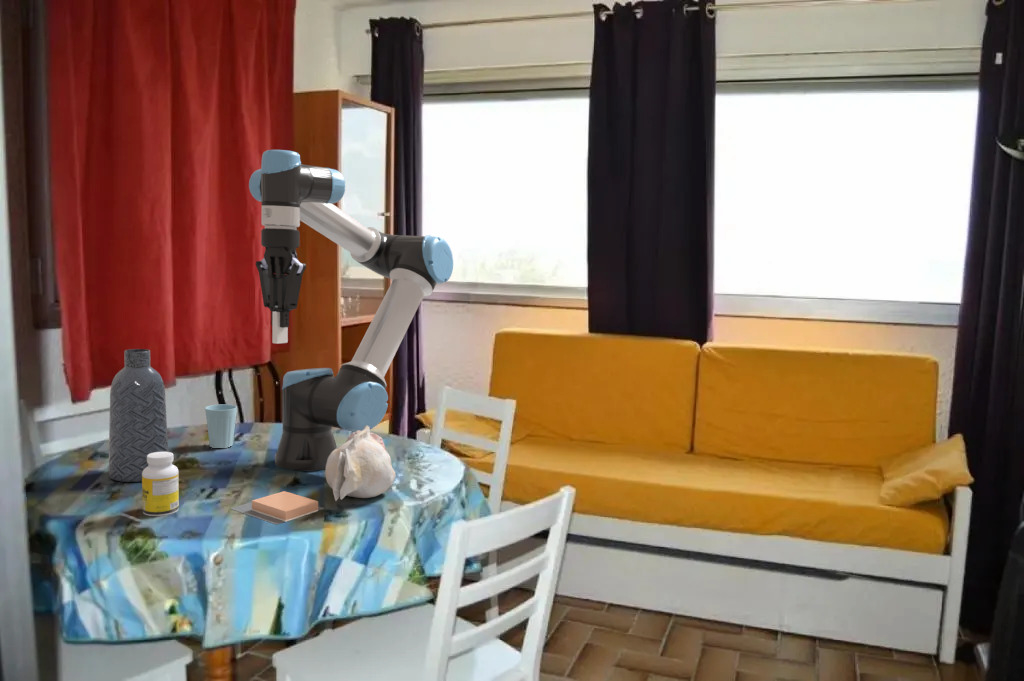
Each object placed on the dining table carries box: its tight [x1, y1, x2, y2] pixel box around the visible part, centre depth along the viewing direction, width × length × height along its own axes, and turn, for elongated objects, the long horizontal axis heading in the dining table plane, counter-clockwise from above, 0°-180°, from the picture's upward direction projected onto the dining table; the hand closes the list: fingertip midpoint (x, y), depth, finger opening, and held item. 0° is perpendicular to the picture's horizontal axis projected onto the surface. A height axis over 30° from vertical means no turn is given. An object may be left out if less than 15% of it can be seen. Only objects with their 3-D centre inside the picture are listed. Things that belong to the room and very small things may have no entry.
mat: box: [229, 501, 326, 526], centre depth 154 cm, size 14×12×1 cm
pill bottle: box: [141, 451, 180, 517], centre depth 150 cm, size 6×6×12 cm
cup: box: [204, 403, 238, 449], centre depth 200 cm, size 8×8×10 cm
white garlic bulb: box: [324, 425, 397, 502], centre depth 164 cm, size 16×19×15 cm
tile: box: [251, 490, 319, 523], centre depth 153 cm, size 2×8×10 cm
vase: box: [108, 348, 169, 483], centre depth 173 cm, size 12×12×28 cm
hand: (280, 342), depth 161 cm, fingers closed
